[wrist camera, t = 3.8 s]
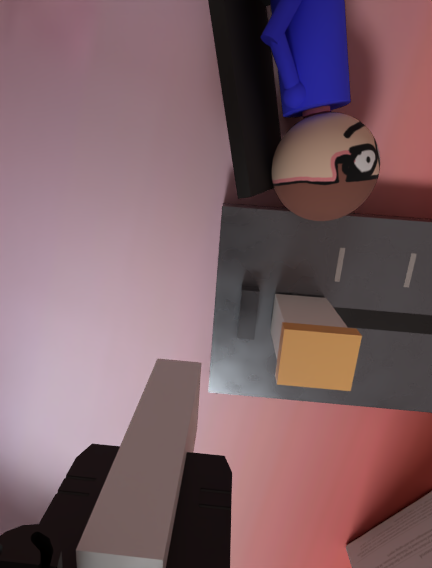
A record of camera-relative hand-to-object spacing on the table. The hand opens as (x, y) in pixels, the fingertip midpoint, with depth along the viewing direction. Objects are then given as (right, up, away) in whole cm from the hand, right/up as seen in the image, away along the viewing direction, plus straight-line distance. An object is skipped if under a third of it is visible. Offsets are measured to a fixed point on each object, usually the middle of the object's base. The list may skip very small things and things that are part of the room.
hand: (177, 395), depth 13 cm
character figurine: (+5, +15, +8) cm, 18 cm away
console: (+15, +2, +11) cm, 19 cm away
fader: (+6, +2, +9) cm, 11 cm away
